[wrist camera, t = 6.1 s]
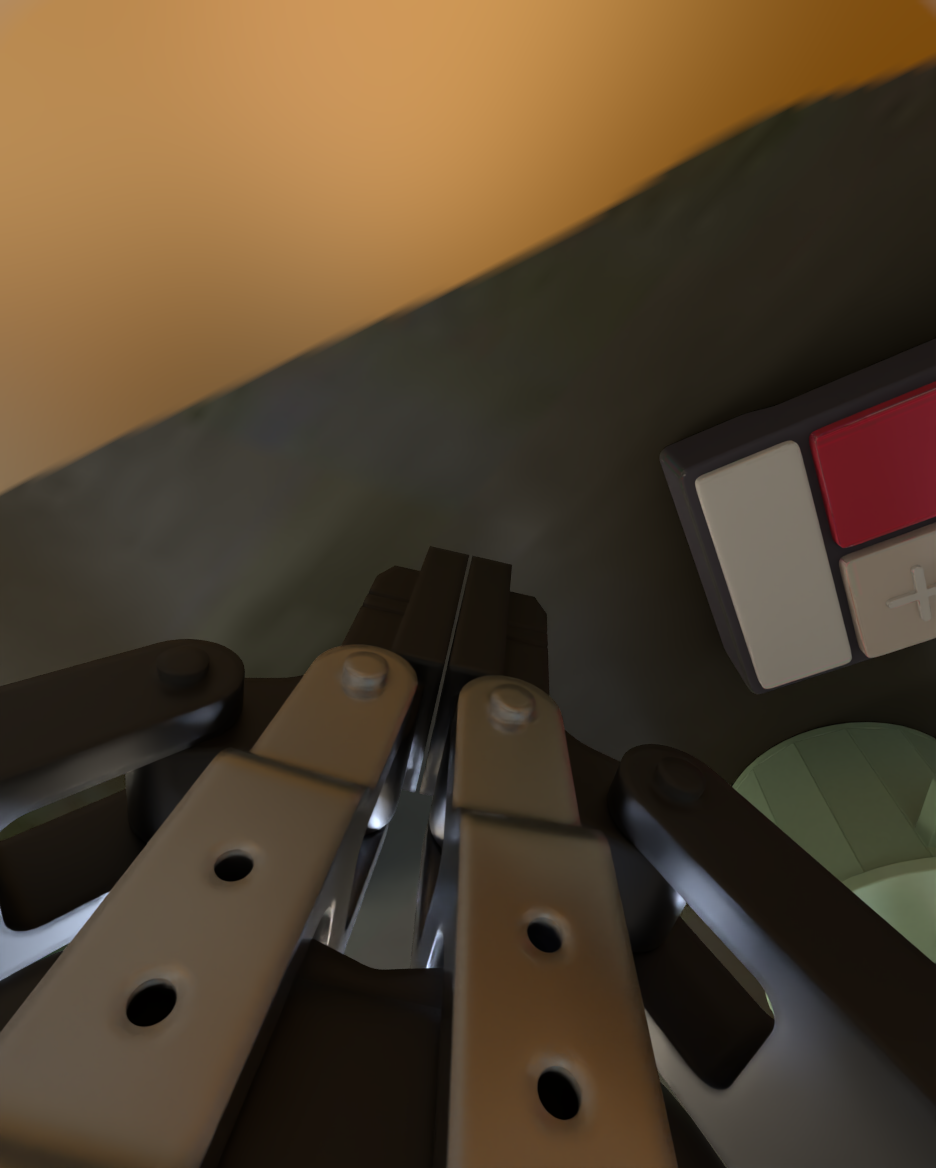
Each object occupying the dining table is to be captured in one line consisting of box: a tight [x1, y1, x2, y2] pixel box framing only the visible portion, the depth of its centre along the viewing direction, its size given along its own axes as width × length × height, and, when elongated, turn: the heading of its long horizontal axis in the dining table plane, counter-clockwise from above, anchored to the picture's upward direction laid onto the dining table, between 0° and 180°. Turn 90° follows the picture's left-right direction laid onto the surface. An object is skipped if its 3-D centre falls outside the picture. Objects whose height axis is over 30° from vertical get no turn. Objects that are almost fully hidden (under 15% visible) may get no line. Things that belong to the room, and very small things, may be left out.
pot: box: [732, 722, 936, 881], centre depth 31 cm, size 13×18×8 cm
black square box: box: [660, 339, 936, 694], centre depth 25 cm, size 11×4×15 cm
